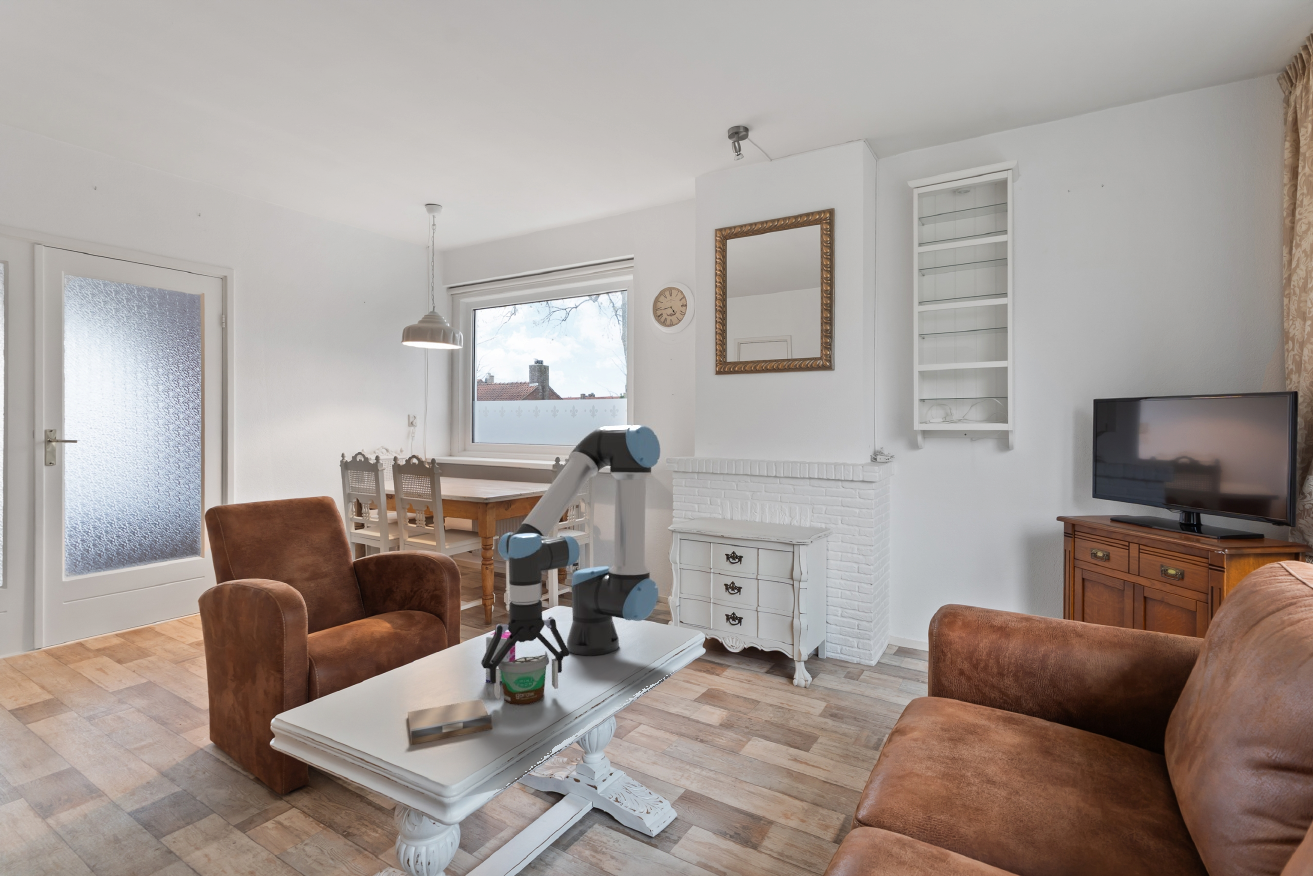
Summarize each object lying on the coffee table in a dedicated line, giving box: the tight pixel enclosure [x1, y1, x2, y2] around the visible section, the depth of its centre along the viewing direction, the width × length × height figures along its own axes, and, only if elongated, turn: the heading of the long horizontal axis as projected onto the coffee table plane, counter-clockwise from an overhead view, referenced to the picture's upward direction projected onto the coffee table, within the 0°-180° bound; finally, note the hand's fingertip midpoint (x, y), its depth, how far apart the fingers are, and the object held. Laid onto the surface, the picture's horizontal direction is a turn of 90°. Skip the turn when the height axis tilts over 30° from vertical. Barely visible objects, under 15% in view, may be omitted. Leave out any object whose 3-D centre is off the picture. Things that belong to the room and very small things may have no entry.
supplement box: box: [485, 631, 516, 684], centre depth 165 cm, size 6×6×12 cm
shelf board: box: [407, 698, 493, 745], centre depth 140 cm, size 16×14×3 cm
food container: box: [498, 650, 550, 706], centre depth 151 cm, size 12×6×10 cm, turn 117°
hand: (526, 691), depth 151 cm, fingers open, 13 cm apart
